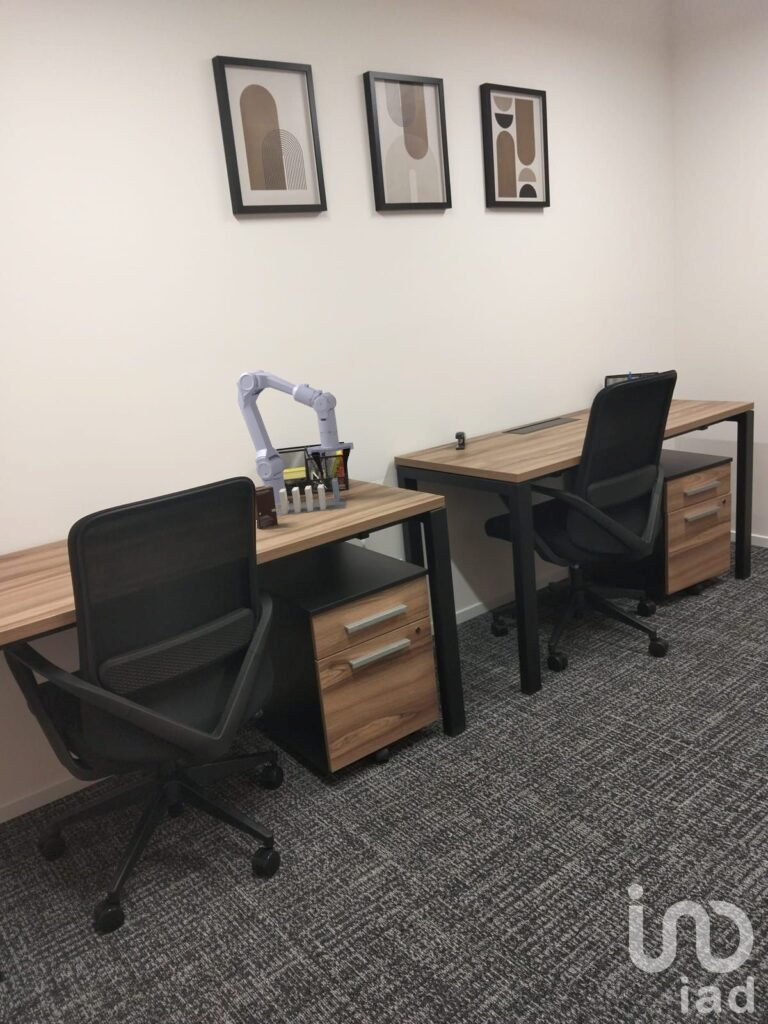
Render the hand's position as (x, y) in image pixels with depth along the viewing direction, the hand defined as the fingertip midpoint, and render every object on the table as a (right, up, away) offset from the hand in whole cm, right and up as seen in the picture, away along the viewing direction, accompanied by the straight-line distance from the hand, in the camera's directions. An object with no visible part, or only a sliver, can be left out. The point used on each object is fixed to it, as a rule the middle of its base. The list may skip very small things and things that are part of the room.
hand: (334, 473), depth 236 cm
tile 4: (-3, -11, -6) cm, 13 cm away
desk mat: (-7, -11, -2) cm, 13 cm away
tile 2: (-11, -12, -5) cm, 17 cm away
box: (-18, -17, -20) cm, 32 cm away
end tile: (+1, -9, +2) cm, 9 cm away
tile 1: (-15, -12, -5) cm, 20 cm away
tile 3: (-7, -11, -6) cm, 14 cm away
